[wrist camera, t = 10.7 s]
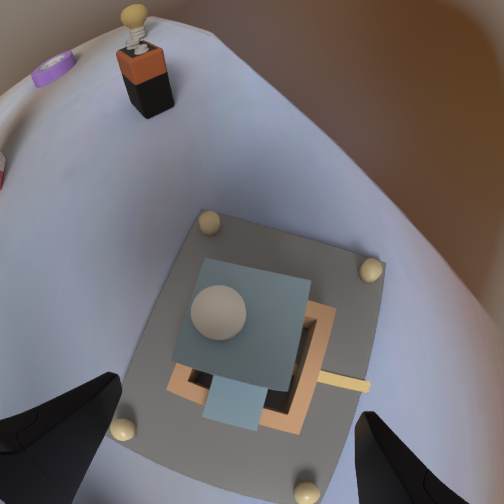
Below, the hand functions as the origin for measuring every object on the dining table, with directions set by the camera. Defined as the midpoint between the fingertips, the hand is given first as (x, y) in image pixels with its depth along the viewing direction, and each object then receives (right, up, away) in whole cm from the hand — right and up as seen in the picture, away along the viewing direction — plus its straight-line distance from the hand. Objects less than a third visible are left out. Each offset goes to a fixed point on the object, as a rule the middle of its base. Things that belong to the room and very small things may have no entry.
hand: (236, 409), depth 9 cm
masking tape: (-48, +49, +37) cm, 78 cm away
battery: (-13, +25, +25) cm, 38 cm away
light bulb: (-27, +57, +41) cm, 75 cm away
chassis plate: (+1, -2, +11) cm, 11 cm away
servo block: (0, -1, +10) cm, 10 cm away
